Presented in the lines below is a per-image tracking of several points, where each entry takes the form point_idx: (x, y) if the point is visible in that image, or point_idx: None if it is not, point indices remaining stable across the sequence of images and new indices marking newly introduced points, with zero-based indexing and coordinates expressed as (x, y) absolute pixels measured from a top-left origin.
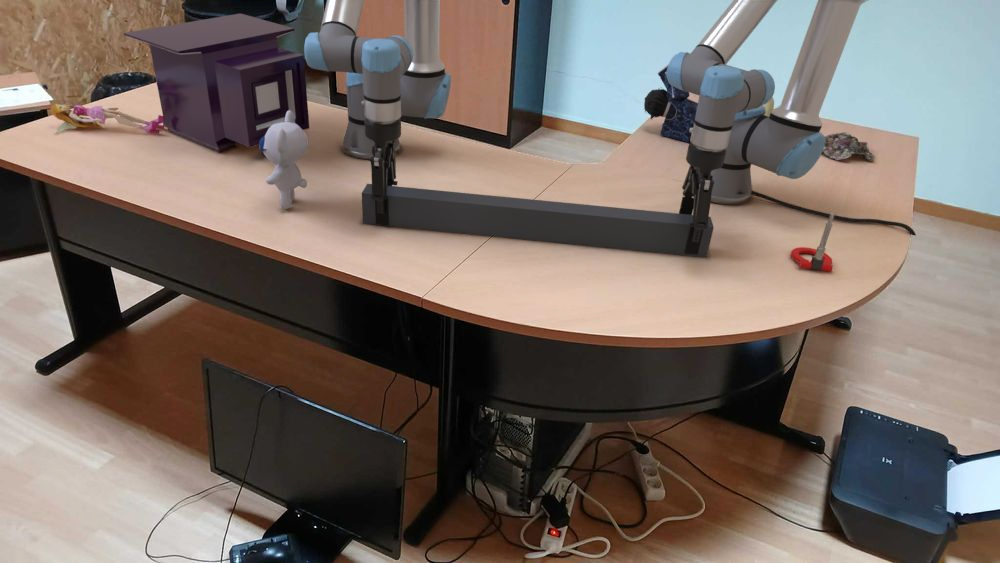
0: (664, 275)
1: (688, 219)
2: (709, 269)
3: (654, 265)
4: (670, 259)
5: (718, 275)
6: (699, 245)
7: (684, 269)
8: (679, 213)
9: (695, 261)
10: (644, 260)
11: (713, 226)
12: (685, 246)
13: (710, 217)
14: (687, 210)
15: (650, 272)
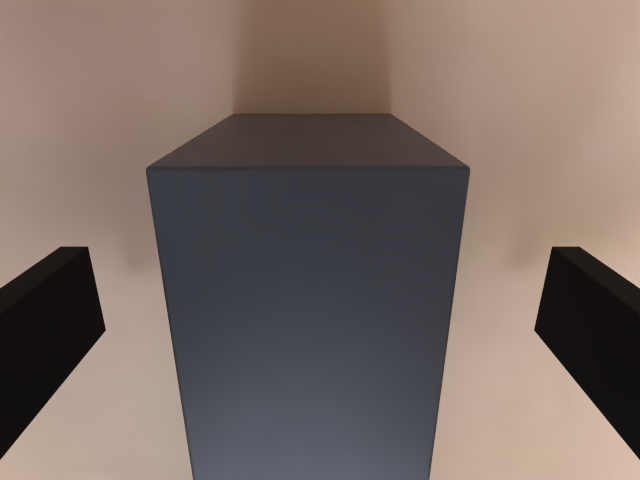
0: None
1: (311, 420)
2: (549, 116)
3: (509, 404)
4: None
5: (631, 63)
6: (634, 286)
7: None
8: (46, 390)
9: None
10: (462, 440)
11: (452, 170)
12: (563, 358)
13: (175, 170)
14: (10, 365)
15: (577, 423)
